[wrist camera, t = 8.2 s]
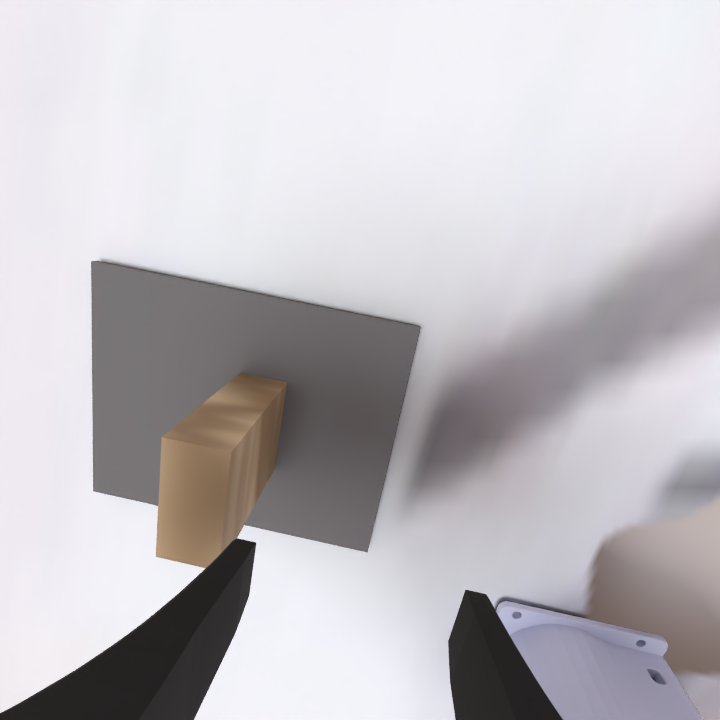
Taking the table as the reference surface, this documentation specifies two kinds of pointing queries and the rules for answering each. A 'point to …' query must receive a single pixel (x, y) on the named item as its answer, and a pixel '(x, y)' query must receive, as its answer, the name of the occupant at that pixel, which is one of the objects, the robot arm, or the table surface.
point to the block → (217, 468)
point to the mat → (259, 358)
